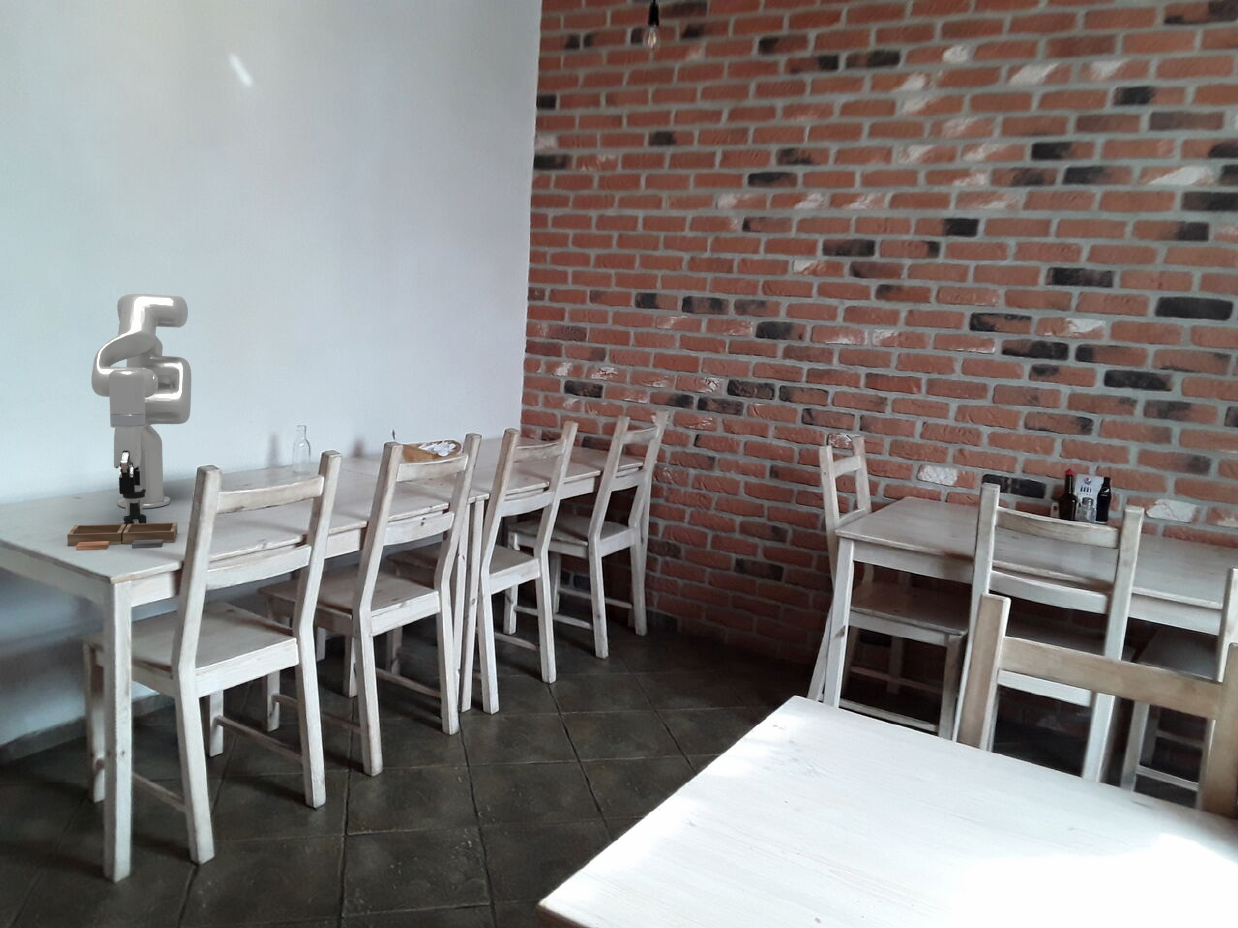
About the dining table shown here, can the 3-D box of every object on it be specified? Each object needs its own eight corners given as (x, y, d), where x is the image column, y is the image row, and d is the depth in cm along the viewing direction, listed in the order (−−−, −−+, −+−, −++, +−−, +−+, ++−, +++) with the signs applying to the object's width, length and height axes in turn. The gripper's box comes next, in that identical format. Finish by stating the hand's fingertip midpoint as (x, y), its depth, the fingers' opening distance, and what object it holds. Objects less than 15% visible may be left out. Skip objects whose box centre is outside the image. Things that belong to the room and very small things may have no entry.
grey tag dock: (128, 534, 210) (127, 523, 210) (177, 532, 214) (177, 522, 213) (120, 548, 199) (120, 537, 198) (172, 546, 203) (172, 535, 202)
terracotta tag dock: (75, 535, 206) (74, 525, 205) (126, 534, 210) (126, 523, 209) (64, 550, 195) (63, 539, 194) (118, 548, 199) (118, 537, 198)
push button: (120, 530, 213) (118, 490, 211) (113, 525, 216) (112, 486, 215) (149, 526, 217) (148, 487, 216) (143, 522, 221) (141, 483, 219)
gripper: (116, 416, 218) (118, 484, 221) (104, 424, 203) (106, 497, 205) (149, 417, 221) (151, 483, 224) (140, 425, 205) (142, 496, 208)
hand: (130, 490), depth 214 cm, fingers open, 9 cm apart
